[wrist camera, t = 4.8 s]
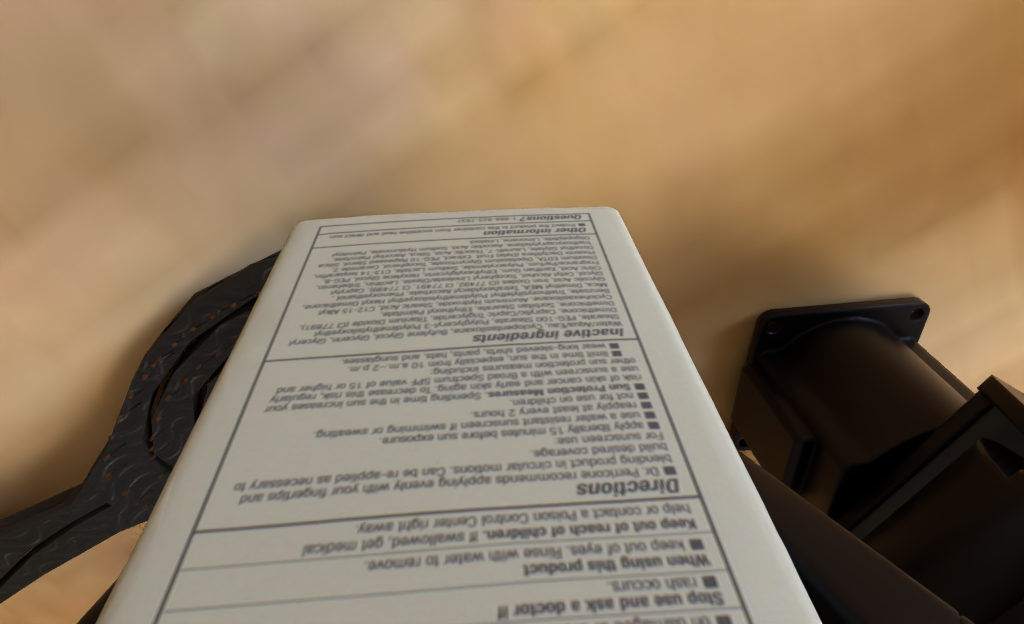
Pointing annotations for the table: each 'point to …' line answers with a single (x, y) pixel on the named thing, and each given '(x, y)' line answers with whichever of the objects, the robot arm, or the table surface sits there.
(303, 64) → the table surface
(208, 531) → the cosmetic box
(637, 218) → the table surface
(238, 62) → the table surface
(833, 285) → the table surface
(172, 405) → the hairbrush
